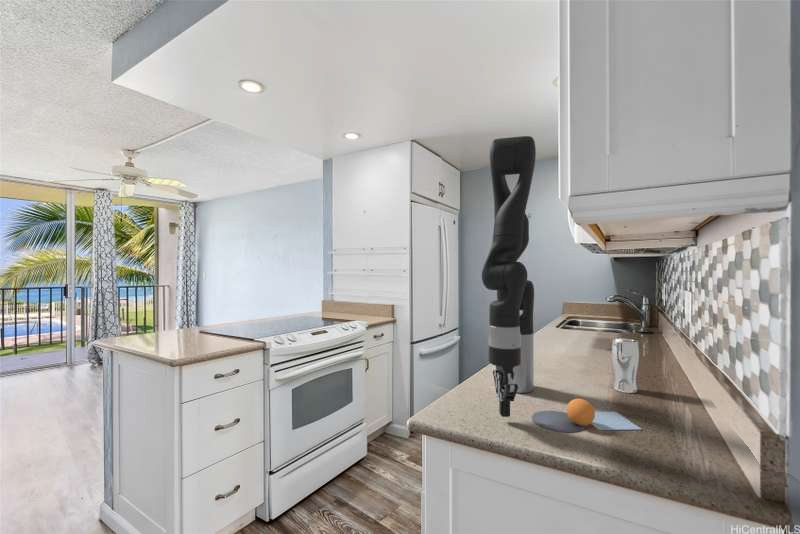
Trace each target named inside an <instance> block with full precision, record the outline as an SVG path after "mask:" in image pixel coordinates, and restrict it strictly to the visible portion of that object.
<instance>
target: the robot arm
mask: <svg viewBox="0 0 800 534" xmlns="http://www.w3.org/2000/svg"><path fill="white" fill-rule="evenodd" d="M536 150H537V149H536V142H535V140H534V137H532V136H531V135H523V136H522V135H520V136H513V137H511V136H510V137H501V138H495V139H493V140H492V141H491V144H490V146H489V167H490V175H491V176H490V177H491V183H492V184H491V185H492V191H493V201H494V202H493V205H494V206H493V207H494V208H493V209H494V224H493V233H492V243H491V247H490V248H489V252H488V255H487V257H486V259H485V262H484V263H483V267H482V271H481V281H482V284H483V286H484V287H485V288H486V289H487V290H489V291H496V300H493V301H491V302H490V304H489V313H488V314H489V315H488V316H489V328H488V363H489V364H490V365H493V366H495V369H493V370H492V375H493V380H494V387H495V393H496V395H497V397H498V399H499V401H498V402H499V404H498V405H499V410H498V412H499V415H500V416H501V417H502V418H509V417H510V416H511V402H514V401H515V397H516V395H517V393H519V394H520V393H521V394H523V393H525V394H526V393H530V392H533V390H534V386H535V385H534V375H535V374H534V373H535V372H534V370H535V369H534V305H535V287H534V283H533V282H532V281H531V280H530V279H529V280H528V270H527V268H526V266H525V265H524V263H523V262H520V261H518V260H519V259H520V257H521V256H522V255H523V253H524V252H525V250H526V249H527V247H528V245H529V242H530V225H529V224H530V222H529V217H528V215H527V214H526V209H527V204H528V201H529V195H530V193H531V192H530V191H531V186H532V182H533V176H534V170H535V166H536V165H535V164H536V157H537V156H536V155H537V152H536ZM507 175H509V176H511V175H519V176H518V179H517V181H516V184H515V186H514V188H513V190H512V191H511V190H510V187H509V186H508V183H507V178H506V176H507ZM520 311H522V313H521V312H520ZM520 313H521V314H520Z"/></svg>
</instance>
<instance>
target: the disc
mask: <svg viewBox="0 0 800 534" xmlns="http://www.w3.org/2000/svg"><path fill="white" fill-rule="evenodd" d="M531 419H532V421H533V423H535V424H536V425H537V426H539V427H541V428H544V429H546V430H550V431H554V432H559V433H578V432H581V431H584V430H586V427H587V425H586V426H580V425H577V424H575V423H573V422H572V421H571V420H570V419H569V417H568V415H567V412H563V411H558V410H540V411H536V412H534V413H533V414H532V415H531Z"/></svg>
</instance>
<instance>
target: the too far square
mask: <svg viewBox="0 0 800 534" xmlns="http://www.w3.org/2000/svg"><path fill="white" fill-rule="evenodd" d="M589 425H591V426H592V427H594V428H595V429H596V430H597V431H642V428H641V427H640V426H638V425H637V424H635V423H633V422H632V421H631V420H629V419H628V418H626V417H625V416H623V415H621V414H620V413H618V412H617V411H595V417H594V420H593V421H592V423H590V424H589Z"/></svg>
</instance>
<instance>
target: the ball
mask: <svg viewBox="0 0 800 534" xmlns="http://www.w3.org/2000/svg"><path fill="white" fill-rule="evenodd" d="M595 412H596V411H595V409H594V407H593V405H592V404H591V403H590V402H589V401H587V400H586V399H584V398H574V399H572V400H570V401H569V402H568V404H567V406H566V413H567V415H568V417H569V419H570V420H571V421H572V422H573V423H575V424H577V425H580V426H586V427H587V426H589V425H591V424H590V423H592V421H593V420H594V417H595Z"/></svg>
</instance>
